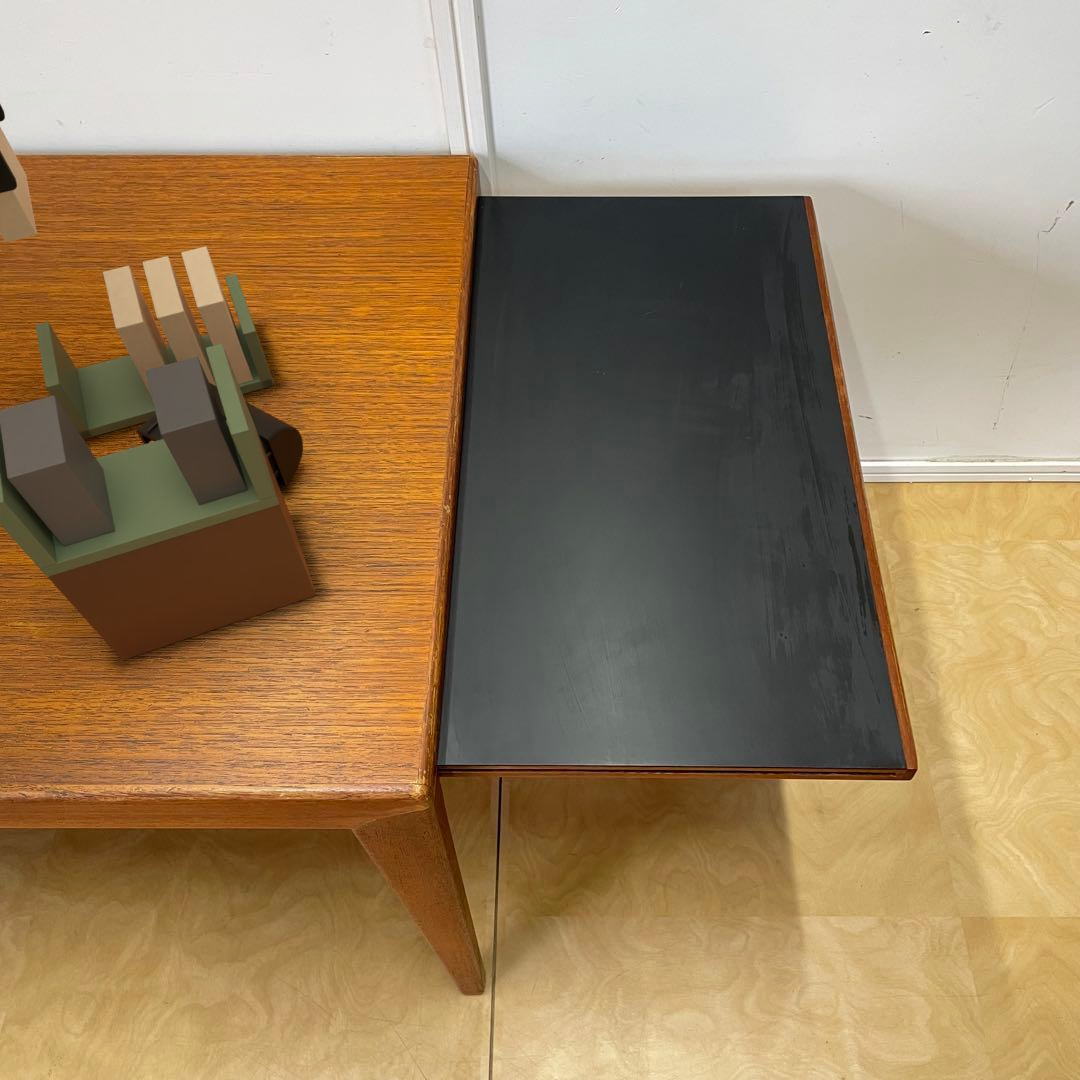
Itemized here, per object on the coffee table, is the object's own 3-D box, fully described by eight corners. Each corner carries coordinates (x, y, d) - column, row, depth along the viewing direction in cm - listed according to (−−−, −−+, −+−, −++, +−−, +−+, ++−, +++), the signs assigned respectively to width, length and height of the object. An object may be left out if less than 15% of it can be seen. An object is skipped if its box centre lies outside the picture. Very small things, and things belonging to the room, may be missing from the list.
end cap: (312, 465, 74) (295, 411, 68) (254, 529, 70) (230, 477, 65) (217, 414, 76) (192, 358, 71) (157, 473, 73) (126, 419, 67)
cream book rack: (81, 440, 75) (24, 355, 66) (69, 379, 78) (14, 291, 70) (274, 385, 78) (244, 297, 70) (255, 329, 81) (224, 239, 73)
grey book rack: (122, 660, 65) (-22, 501, 48) (107, 580, 68) (-33, 404, 51) (316, 595, 68) (246, 423, 51) (292, 521, 71) (219, 337, 54)
